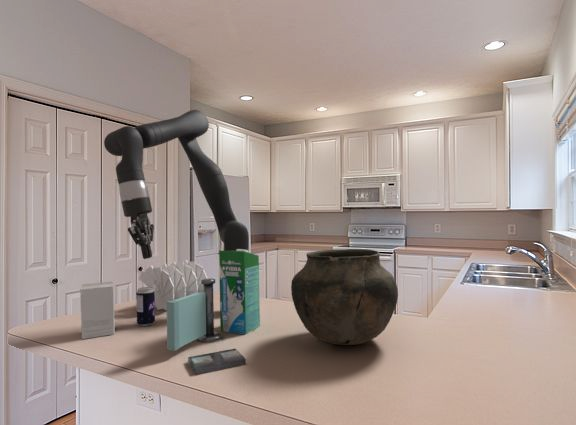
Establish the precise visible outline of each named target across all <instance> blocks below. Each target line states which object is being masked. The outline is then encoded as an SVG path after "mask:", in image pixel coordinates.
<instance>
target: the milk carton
mask: <svg viewBox="0 0 576 425" xmlns="http://www.w3.org/2000/svg"><path fill="white" fill-rule="evenodd" d="M218 259H219V262H218V263H219V314H220V315H219V318H220V320H219V322H220V330H219V332H224V333H225V332H226V333H233V334H240V335H247V334H248V333H250V332H251V331H253V330H255V329H257V328H259V327H260V325H261V320H260V319H261V318H260V317H261V315H260V314H261V313H260V312H261V311H260V310H261V309H260V265H259V264H260V262H259V261H260V260H259V255H257V254H254V253H251V252H249V253H248V250H244V249H236V251H224V250H219V251H218Z"/></svg>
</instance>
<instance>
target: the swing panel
mask: <svg viewBox="0 0 576 425" xmlns="http://www.w3.org/2000/svg"><path fill="white" fill-rule="evenodd" d="M205 334H206V295H205V292H198V293H194V294H191V295H188V296H185V297H182V298H179V299H176V300H173V301H168V302H167V310H166V339H167V342H166V345H167V346H166V347H167V348H166V349H167V350H168V351H178V350H179V349H180V348H181V347H183V346H185V345H187V344H189V343H192V342H193V341H196V340H197V338H199V337H201V336H203V335H205Z"/></svg>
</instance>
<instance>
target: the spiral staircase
mask: <svg viewBox="0 0 576 425" xmlns="http://www.w3.org/2000/svg"><path fill="white" fill-rule="evenodd" d="M202 279H209V278H208V276H207V274H206V271H205V270H204V267H203V266H202V265H200V264H198V263H197V261H194V260H193V261H188V260H187V259H185V260H184V261H182V262H177V263H176V261H173V262H171V264H170V265H167V263H163V264H162V265H161V266H159V267H157V266H155V267H154V266H153V265H149V267H147V268H146V269H145V270H144V269H141V272H140V274H139V277H138V280H139V281H140V282H142V283H143V285H145V286H146V287H153V289H154V291H155V308H156V311H158V310H164V311H166V312H167V302H168V301H173V300H176V299H179V298H182V297H185V296H188V295H191V294H194V293H198V292H203V284H201V280H202Z"/></svg>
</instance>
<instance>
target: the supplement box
mask: <svg viewBox="0 0 576 425" xmlns="http://www.w3.org/2000/svg"><path fill="white" fill-rule="evenodd" d="M114 288H115V287H114V283H113V281H108V282H97V283H96V282H95V283H84V284H82V285H81V287H80V290H79V291H80V320H81V321H80V322H81V324H80V326H81V328H80V329H81V339H82V340H86V339H92V338H99V337H105V336H111V335H115V331H116V330H115V329H116V328H115V322H116V321H115V291H114V290H115V289H114Z"/></svg>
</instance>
